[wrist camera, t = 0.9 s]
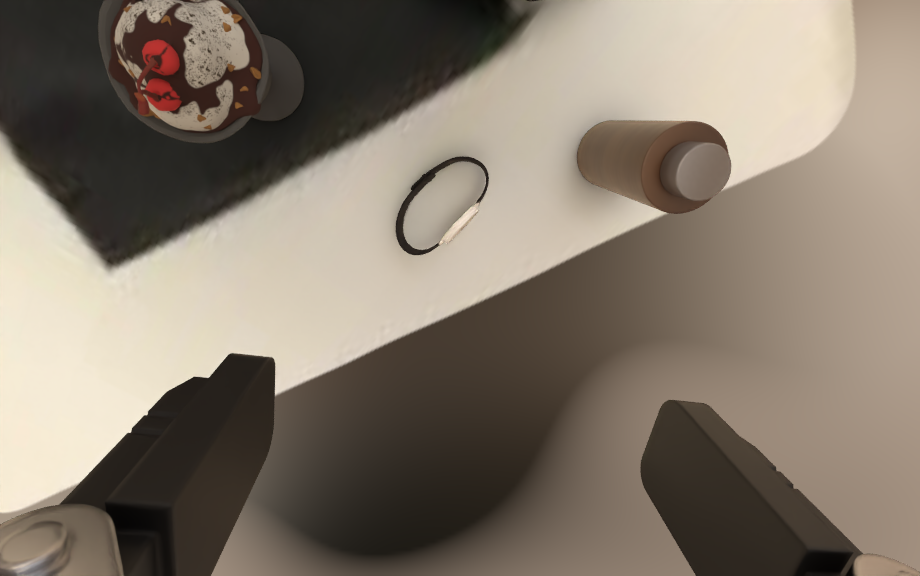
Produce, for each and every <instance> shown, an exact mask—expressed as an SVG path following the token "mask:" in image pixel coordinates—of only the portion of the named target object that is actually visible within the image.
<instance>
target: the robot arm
mask: <svg viewBox="0 0 920 576" xmlns="http://www.w3.org/2000/svg"><path fill="white" fill-rule="evenodd" d="M274 396H275V362H274V359H273V358H272V357H263V356H254V355H244V354H234V353H231V354H229V355H228V356H227V357H226V358H225V359H224V361H223V362H222V363H221V364H220V365H219V367H218V368H217V369H216V370H215V371H214V372H213V374H212V375H211V376H210V377H209V378H203V377H193V378H191V379H189V380H188V381H186V382H184V383H182V384H180V385H178V386H177V387H175V388H173V389H171V390H169V391H167V392H166V393H165V394H164V395H163V396H162V397H161V399H160V400H159V401H158V402H157V403H156V404H155V405H154V406H153V407H152V408H151V409H150V410H149V411H148V415H147V416H145V415H144V416H143V417H142V418H141V420H140V421H139V422H138V423H137V424H136V425H135V426H134V427H133V428H132V431H131V433H127V434H126V435H125V436H124V437H123V438H122V439H121V441H120V442H119V443H118V444H117V445H116V446H115V447H114V448H113V449H112V450H111V451H110V452H109V453H108V454H107V455H106V456H105V457H104V458H103V459H102V460H101V461H100V463H99V464H98V465H97V466H96V467H95V468H94V469H93V470H92V471H91V472H90V473H89V474H88V475H87V476H86V477H85V478H84V479H83V480H82V481H81V482H80V484H79V485H78V486H77V487H76V488H75V489H74V490H73V491H72V492H71V493H70V494H69V495H68V496H67V497H66V498H65V499H64V500H63V501H62V502H61V503H60V505H55V506H49V507H44V508H41V509H37V510H34V511H30V512H28V513H25V514H23V515H20V516H17V517H15V518H12V519H10V520H8V521H6V522H4V523H2V524H0V576H211V574H212V572H213V570H214V568H215V566H216V563H217V561H218V559H219V557H220V555H221V553H222V551H223V549H224V546H225V544H226V542H227V540H228V538H229V536H230V534H231V532H232V530H233V527H234V525H235V523H236V521H237V519H238V517H239V515H240V513H241V510H242V508H243V506H244V504H245V502H246V500H247V498H248V495H249V494H250V491H251V489H252V487H253V485H254V483H255V481H256V479H257V477H258V474H259V472H260V470H261V468H262V466H263V464H264V462H265V460H266V457H267V454H268V452H269V448H270V445H271V440H272V434H273V427H274ZM641 478H642V482H643V485H644V488H645V490H646V492H647V494H648V495H649V497H650V499H651V500H652V502H653V503H654V505H655V507H656V509H657V510H658V512H659V514H660V516H661V517H662V519H663V521H664V522H665V524H666V526H667V527H668V529H669V531H670V532H671V534H672V536H673V538H674V539H675V541H676V543H677V544H678V546H679V548H680V549H681V551H682V553H683V555H684V556H685V558H686V560H687V561H688V562H689V565H690V566H691V568H692V570H693V571H694V573H695V575H696V576H920V572H919V571H917V570H916V569H914V568H912V567H910V566H908V565H906V564H904V563H901V562H899V561H897V560H894V559H891V558H888V557H885V556H881V555H877V554H863V553H862V552H861V551H860V550H859V549H858V548H857V547H856V546H854V544H853V543H852V542H851V541H850V540H849V539H848V538H847V537H845V536H844V535H843V533H842V532H841V531H839V529H837V527H836V526H834V525H833V524H832V523H831V522H830V521H829V520H828V519H827V518H826V517H825V516H824V515H823V514H822V513H821V512H820V511H819V510H818V509H817V508H816V507H815V506H814V505H813V504H812V503H811V502H810V501H809V500H808V499H807V498H806V497H805V496H804V495H803V494H802V493H801V492H800V491H799V490H798V489H794V488H793V484H792V483H791V482H790V481H789V480H788V479H787V478H786V477H785V476H784V475H783V474H782V473H781V472H778V471H776V467H775V466H774V465H773V464H772V463H771V462H770V461H769V460H768V459H767V458H766V457H765V456H764V455H763V454H762V453H761V452H760V451H759V450H758V449H757V448H756V447H755V446H753V445H752V444H750V443H749V442H747V441H746V440H744V439H743V438H741V437H740V436H739V435H738V434H736V433H735V431H734V430H733V429H732V428H731V427H730V426H729V425H728V424H727V423H726V422H725V421H724V420H723V419H722V418H721V417H720V416H719V415H718V414H717V413H716V412H715V411H714V410H713V409H712V408H711V407H710V406H708V405H707V404H704V403H695V402H686V401H677V400H668V401H666V402H665V403H664V404H663V405H662V406H661V408H660V411H659V413H658V416H657V419H656V421H655V424H654V427H653V429H652V432H651V435H650V437H649V440H648V443H647V446H646V448H645V451H644V454H643V457H642V460H641Z"/></svg>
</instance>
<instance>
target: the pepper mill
mask: <svg viewBox="0 0 920 576" xmlns="http://www.w3.org/2000/svg"><path fill="white" fill-rule="evenodd" d="M577 162H578V167H579V170H580V172H581V174H582V175H583V176H584V178H585V179H586V180H588V181H589V182H590V183H592V184H594V185H597V186H599V187H602V188H605V189H607V190H610V191H612V192H615V193H617V194H620V195H623V196H625V197H628V198H630V199H633V200H635V201H638V202H641V203H643V204H646V205H648V206H651V207H654V208H656V209H659V210H661V211H664V212H667V213H674V214H678V213H686V212H690V211H692V210H695V209H697V208H699V207H701V206H702V205H704V204H705V203H706V202H708V201H709V200H710V199H711V198H712V197H713V196H715V195H716V194H718V193H719V192H720V191H721V190H722V189H723V188H724V186H725V185H726V183H727V181H728V179H729V176H730V173H731V160H730V157H729V155H728V149H727V145H726V143H725V141H724V139H723V137H722V136H721V134H720V133H719V132H718V131H717V130H716V129H715V128H713V127H712V126H710V125H708V124H706V123H702V122H697V121H605V122H602V123H599V124H597V125H595V126H594V127H592V128H591V129H590V130H589V131H588V132H587V133H586V134H585V136H584V137H583V139H582V140H581V143H580V145H579V148H578V153H577Z"/></svg>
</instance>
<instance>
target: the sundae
mask: <svg viewBox="0 0 920 576" xmlns="http://www.w3.org/2000/svg"><path fill="white" fill-rule="evenodd" d="M98 36H99V45H100V49H101V53H102V57H103V61H104V64H105V67H106V71H107V73H108V76H109V79H110V82H111V84H112V86H113V88H114V89H115V91H116V93H117V95H118V97H119V98H120V99H121V101H122V102H123V103H124V105H125V106H126V107H127V109H128V110H129V111H130V112H131V113H132V114H133V115H135V116H136V117H137V118H138V119H139V120H140V121H142V122H143V123H145V124H146V125H148V126H149V127H151V128H152V129H154V130H155V131H157V132H159V133H162V134H164V135H167V136H169V137H172V138H175V139H179V140H182V141H186V142H194V143H212V142H216V141H220V140H224V139H225V138H227V137H229V136H231V135H233V134H234V133H235V132H237V131H238V130H239V129H241V128H242V127H243V126H244V125H245V124H246V123H247V121H248V120H249V119H250V118H251V117H253V118H255V119H259V120H262V121H276V120H281V119H283V118H285V117H287V116H289V115H290V114H292V113H293V112H294V111H295V109H296V108H297V107H298V105H299V104H300V102H301V100H302V96H303V92H304V86H305V84H304V76H303V71H302V68H301V66H300V63H299V61H298V60H297V58H296V56H295V55H294V53H293V52H292V51H291V50H290V49H289V48H288V47H287V46H286V45H285V44H283V43H282V42H281V41H280V40H277V39H275V38H273V37H270V36H267V35H264V34H260V32H259V31H258V29H257V27H256V26H255V24H254V22H253V21H252V19H251V18H250V16H249V15H248V14H247V12H246V11H245V9H244V8H243V7H242V5H241V4H240V3H239V2H238V1H237V0H104V2H103V4H102V6H101V8H100V10H99V22H98Z"/></svg>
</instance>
